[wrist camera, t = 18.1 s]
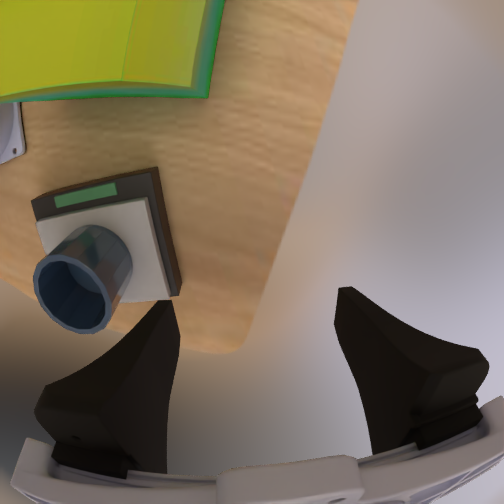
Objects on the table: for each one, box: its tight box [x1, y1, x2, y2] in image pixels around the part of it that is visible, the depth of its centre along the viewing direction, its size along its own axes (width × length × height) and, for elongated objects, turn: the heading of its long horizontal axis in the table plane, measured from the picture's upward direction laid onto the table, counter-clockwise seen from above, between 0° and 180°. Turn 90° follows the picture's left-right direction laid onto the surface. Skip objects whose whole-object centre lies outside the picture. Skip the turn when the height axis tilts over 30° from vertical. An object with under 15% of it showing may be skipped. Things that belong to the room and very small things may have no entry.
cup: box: [33, 224, 133, 334], centre depth 17 cm, size 5×5×4 cm
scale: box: [31, 167, 182, 303], centre depth 19 cm, size 10×9×3 cm
